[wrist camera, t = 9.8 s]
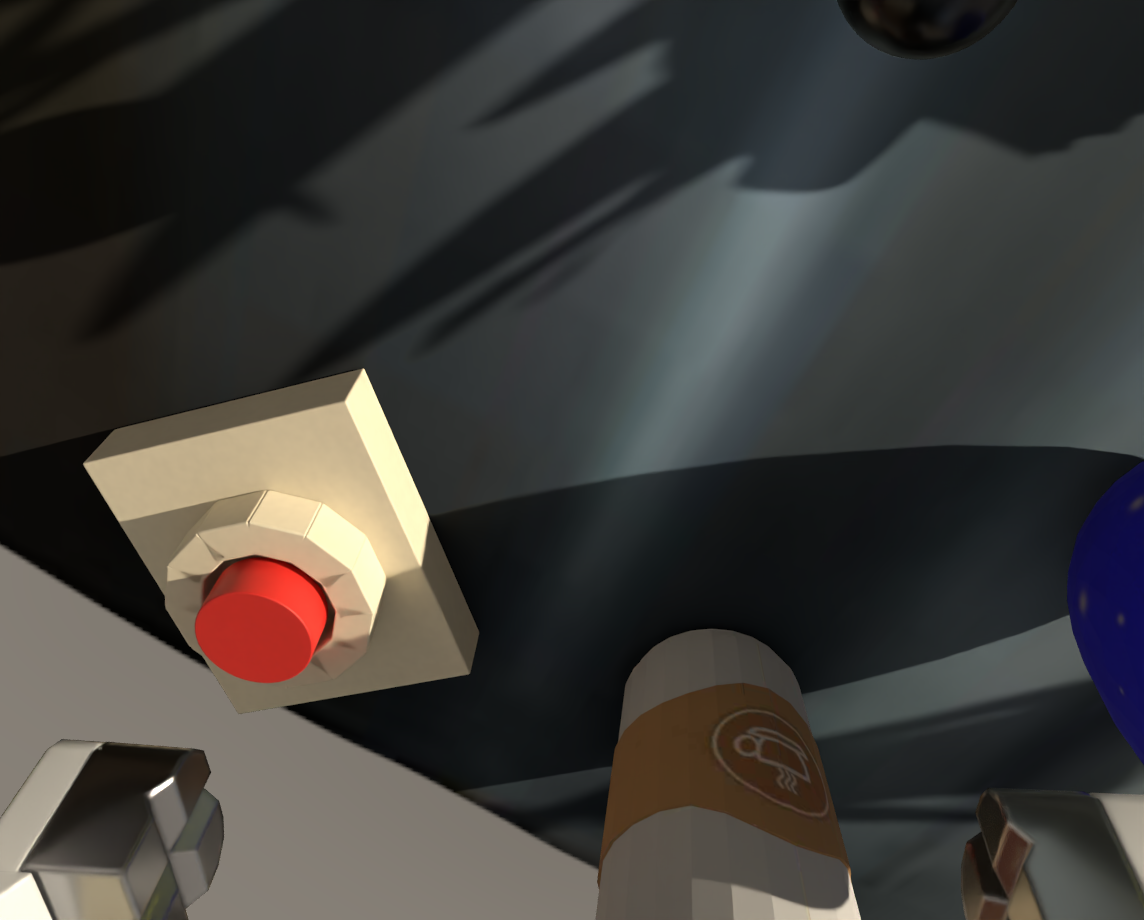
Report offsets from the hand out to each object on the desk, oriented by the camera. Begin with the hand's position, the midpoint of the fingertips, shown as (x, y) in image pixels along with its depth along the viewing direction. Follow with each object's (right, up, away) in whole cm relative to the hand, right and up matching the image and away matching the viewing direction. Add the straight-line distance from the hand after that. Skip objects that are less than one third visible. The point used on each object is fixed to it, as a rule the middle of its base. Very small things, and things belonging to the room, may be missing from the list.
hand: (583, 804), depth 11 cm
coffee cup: (+5, -5, +27) cm, 28 cm away
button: (-10, -1, +21) cm, 23 cm away
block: (-9, +1, +24) cm, 26 cm away
